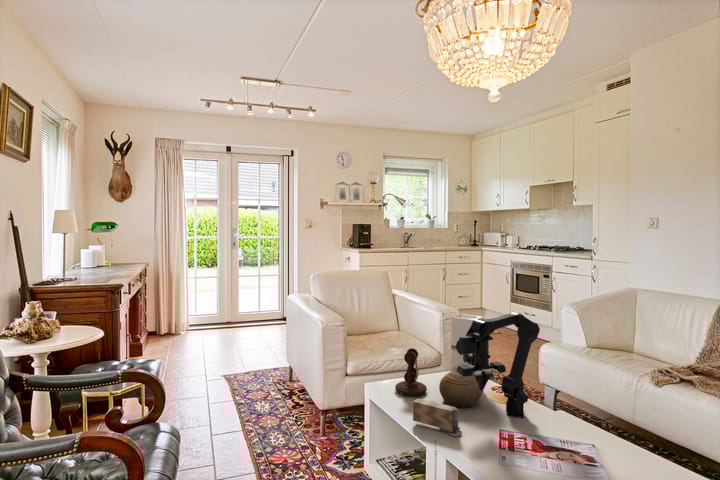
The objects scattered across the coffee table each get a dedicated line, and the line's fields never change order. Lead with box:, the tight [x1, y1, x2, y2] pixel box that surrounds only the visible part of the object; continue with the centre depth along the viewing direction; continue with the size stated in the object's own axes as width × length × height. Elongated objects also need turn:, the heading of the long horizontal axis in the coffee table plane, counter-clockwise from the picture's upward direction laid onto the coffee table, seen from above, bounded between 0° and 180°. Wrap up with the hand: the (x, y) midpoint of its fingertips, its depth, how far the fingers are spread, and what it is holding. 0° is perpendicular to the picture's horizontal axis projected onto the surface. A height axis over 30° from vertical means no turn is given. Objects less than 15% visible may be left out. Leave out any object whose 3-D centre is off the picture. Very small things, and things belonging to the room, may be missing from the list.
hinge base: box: [447, 429, 463, 438], centre depth 163 cm, size 5×5×1 cm
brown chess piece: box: [394, 348, 428, 398], centre depth 206 cm, size 15×15×20 cm
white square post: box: [450, 313, 484, 371], centre depth 211 cm, size 11×11×35 cm
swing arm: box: [412, 398, 459, 431], centre depth 167 cm, size 18×4×8 cm, turn 57°
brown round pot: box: [438, 363, 484, 409], centre depth 193 cm, size 20×17×17 cm
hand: (481, 390), depth 175 cm, fingers closed
